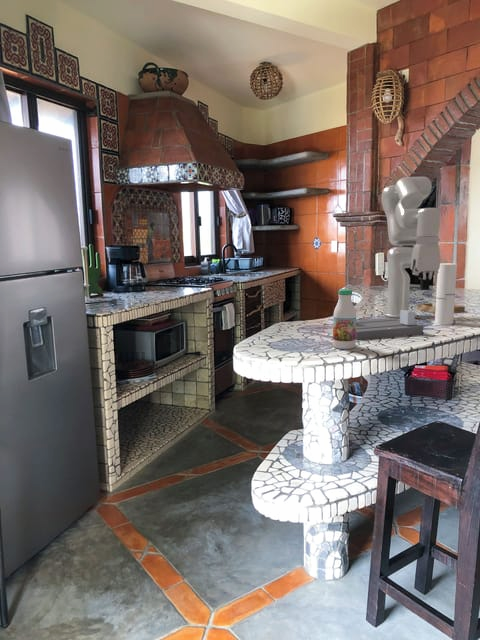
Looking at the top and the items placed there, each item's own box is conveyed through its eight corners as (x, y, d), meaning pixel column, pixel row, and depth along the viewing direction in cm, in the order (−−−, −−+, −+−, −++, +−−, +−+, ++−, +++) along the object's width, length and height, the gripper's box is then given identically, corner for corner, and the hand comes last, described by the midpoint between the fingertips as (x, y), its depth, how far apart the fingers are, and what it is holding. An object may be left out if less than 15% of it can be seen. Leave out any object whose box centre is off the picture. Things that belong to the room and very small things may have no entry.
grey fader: (399, 322, 183) (400, 309, 182) (406, 322, 183) (407, 309, 182) (407, 325, 178) (408, 311, 177) (414, 324, 179) (415, 311, 178)
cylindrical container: (455, 325, 193) (459, 264, 188) (436, 324, 195) (440, 264, 190) (450, 321, 200) (454, 263, 195) (433, 321, 201) (436, 263, 197)
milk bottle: (330, 344, 165) (330, 288, 161) (351, 343, 165) (352, 287, 162) (336, 350, 157) (337, 291, 153) (358, 349, 158) (360, 290, 154)
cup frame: (417, 308, 233) (417, 304, 232) (443, 307, 237) (443, 302, 236) (437, 313, 219) (437, 308, 218) (464, 311, 222) (464, 306, 222)
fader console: (333, 329, 189) (333, 322, 189) (394, 324, 196) (394, 317, 195) (356, 339, 171) (356, 331, 171) (422, 334, 178) (423, 326, 177)
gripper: (437, 240, 182) (435, 287, 185) (403, 241, 178) (401, 289, 181) (450, 241, 175) (447, 289, 178) (415, 242, 171) (413, 291, 174)
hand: (424, 289), depth 180 cm, fingers closed
